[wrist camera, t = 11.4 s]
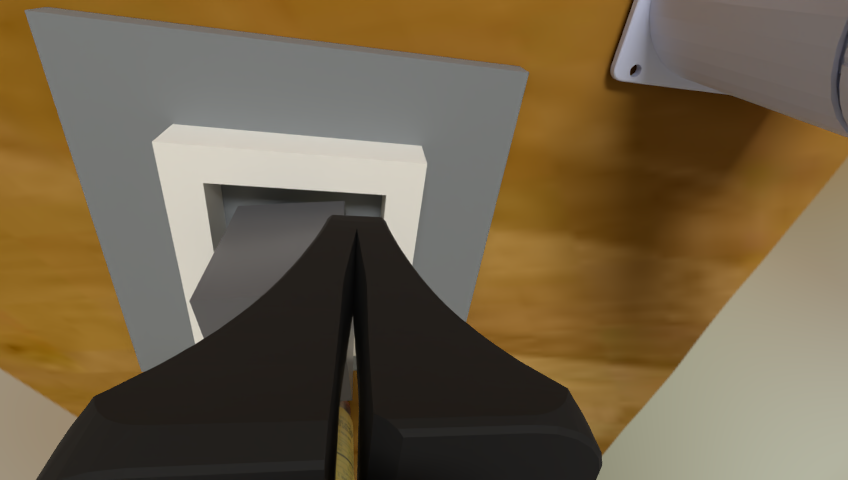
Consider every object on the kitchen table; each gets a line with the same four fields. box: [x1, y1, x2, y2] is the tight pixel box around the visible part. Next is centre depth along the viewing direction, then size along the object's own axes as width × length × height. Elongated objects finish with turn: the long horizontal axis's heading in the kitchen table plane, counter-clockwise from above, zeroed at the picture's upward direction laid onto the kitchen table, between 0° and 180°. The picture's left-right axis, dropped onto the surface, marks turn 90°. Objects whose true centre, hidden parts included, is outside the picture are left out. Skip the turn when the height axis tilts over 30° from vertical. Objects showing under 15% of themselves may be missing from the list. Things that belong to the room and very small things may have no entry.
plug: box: [189, 201, 354, 401], centre depth 17 cm, size 4×5×7 cm
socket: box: [25, 7, 529, 372], centre depth 20 cm, size 18×18×3 cm
